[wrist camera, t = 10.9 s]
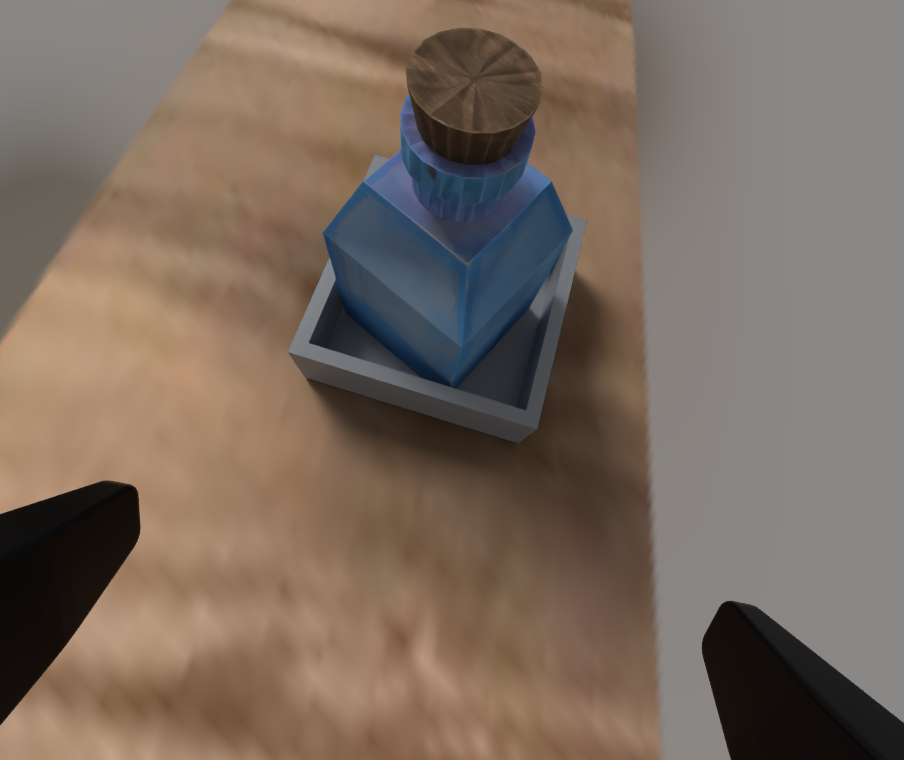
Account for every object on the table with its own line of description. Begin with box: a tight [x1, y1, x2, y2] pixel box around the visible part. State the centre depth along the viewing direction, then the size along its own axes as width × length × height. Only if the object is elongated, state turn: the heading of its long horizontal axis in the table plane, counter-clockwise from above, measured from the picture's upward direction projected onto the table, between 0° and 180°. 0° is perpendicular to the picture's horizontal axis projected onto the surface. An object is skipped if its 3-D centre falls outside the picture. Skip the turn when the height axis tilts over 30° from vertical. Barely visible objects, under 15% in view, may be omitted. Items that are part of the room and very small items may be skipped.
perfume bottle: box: [323, 28, 573, 389], centre depth 16 cm, size 6×6×12 cm
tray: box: [288, 155, 587, 443], centre depth 21 cm, size 10×10×3 cm
